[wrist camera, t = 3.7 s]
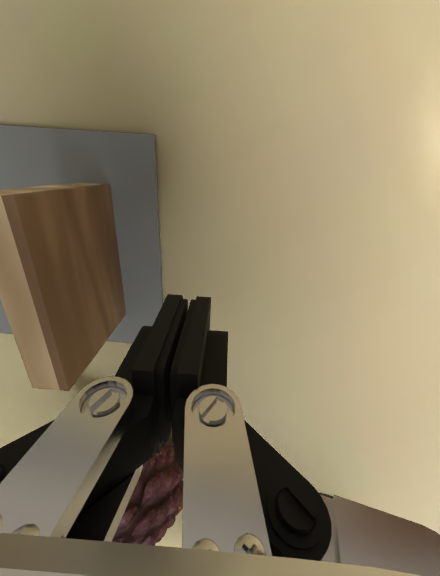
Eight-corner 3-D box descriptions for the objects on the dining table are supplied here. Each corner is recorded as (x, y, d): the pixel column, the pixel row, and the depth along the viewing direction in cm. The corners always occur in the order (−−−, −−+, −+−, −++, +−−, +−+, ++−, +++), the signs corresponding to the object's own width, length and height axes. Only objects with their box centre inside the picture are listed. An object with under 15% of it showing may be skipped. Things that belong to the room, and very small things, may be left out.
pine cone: (56, 392, 26) (-37, 510, 17) (134, 363, 24) (74, 480, 15) (148, 483, 33) (116, 604, 24) (217, 467, 30) (209, 593, 21)
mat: (155, 135, 16) (152, 134, 15) (164, 342, 22) (163, 345, 22) (-155, 116, 16) (-166, 114, 16) (-52, 325, 23) (-58, 328, 22)
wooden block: (110, 184, 16) (13, 196, 9) (126, 314, 21) (69, 390, 14) (80, 182, 17) (-39, 192, 9) (102, 312, 21) (32, 387, 14)
